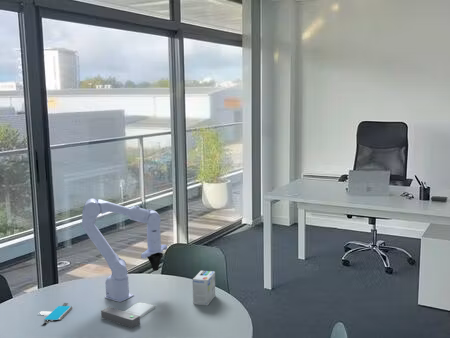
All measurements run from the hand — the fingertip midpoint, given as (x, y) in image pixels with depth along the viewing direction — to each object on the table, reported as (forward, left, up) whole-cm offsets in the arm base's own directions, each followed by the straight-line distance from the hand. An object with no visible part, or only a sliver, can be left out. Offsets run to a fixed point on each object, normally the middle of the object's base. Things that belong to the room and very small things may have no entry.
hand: (155, 270), depth 201 cm
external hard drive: (+6, -18, -11) cm, 22 cm away
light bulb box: (+22, +5, -11) cm, 25 cm away
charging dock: (+6, -27, -10) cm, 30 cm away
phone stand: (-21, -36, -11) cm, 44 cm away
